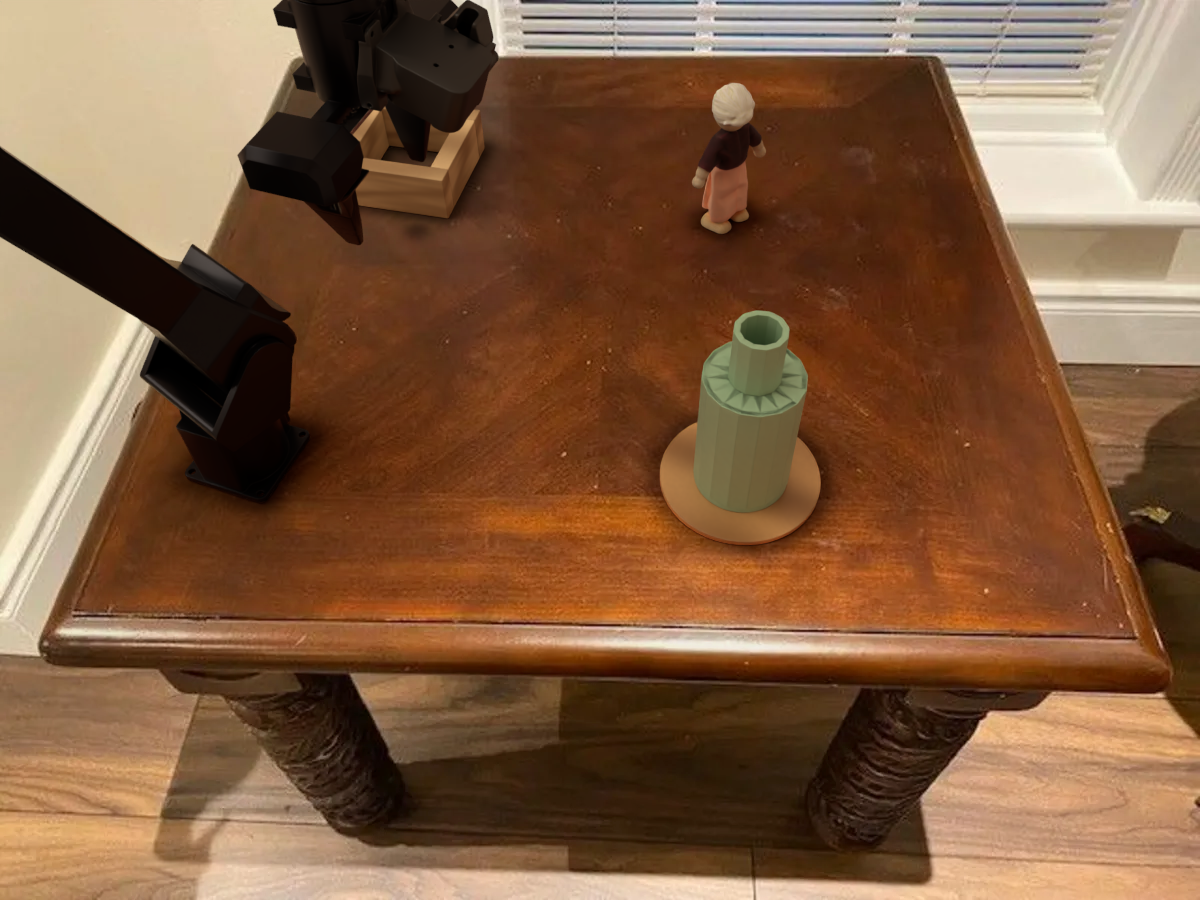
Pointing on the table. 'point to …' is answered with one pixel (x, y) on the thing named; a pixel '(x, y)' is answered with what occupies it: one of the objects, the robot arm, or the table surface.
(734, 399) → the bottle
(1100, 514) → the table surface
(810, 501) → the mat
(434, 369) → the table surface
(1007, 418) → the table surface
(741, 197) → the grandmother figurine
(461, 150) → the holder
